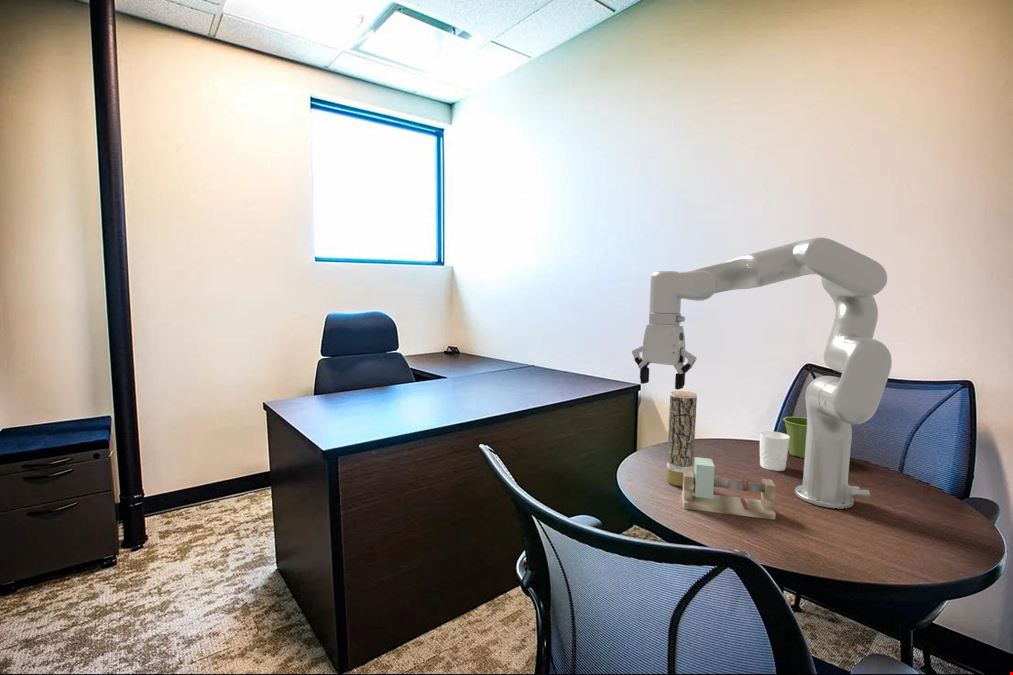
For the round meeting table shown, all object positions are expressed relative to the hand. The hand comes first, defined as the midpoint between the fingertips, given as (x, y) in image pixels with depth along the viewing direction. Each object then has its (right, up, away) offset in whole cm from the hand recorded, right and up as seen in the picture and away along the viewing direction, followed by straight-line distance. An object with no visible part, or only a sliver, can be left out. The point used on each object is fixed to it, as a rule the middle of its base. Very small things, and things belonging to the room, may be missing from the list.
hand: (661, 385), depth 126 cm
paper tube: (+8, -28, +8) cm, 30 cm away
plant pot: (+56, -26, +32) cm, 69 cm away
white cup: (+40, -27, +21) cm, 53 cm away
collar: (+8, -26, -6) cm, 28 cm away
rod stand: (+14, -29, -7) cm, 33 cm away
